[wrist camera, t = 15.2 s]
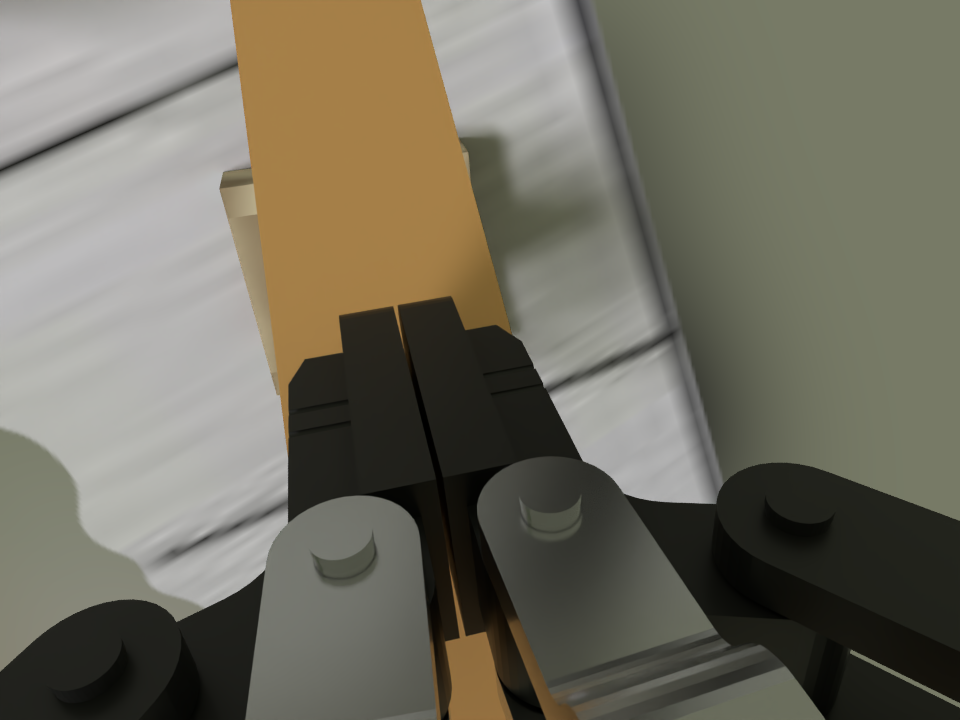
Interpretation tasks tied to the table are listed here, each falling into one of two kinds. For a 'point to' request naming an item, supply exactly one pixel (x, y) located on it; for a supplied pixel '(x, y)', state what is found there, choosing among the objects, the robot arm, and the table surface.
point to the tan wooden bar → (361, 199)
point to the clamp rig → (256, 249)
